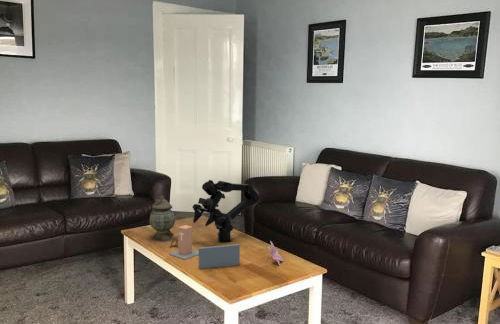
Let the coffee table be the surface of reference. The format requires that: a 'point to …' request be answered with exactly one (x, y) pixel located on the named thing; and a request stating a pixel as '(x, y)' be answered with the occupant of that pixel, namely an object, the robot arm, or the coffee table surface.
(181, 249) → the salmon pink tall block
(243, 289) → the coffee table surface
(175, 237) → the lion figurine
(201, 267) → the screen
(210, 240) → the coffee table surface
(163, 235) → the lidded urn
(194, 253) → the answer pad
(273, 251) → the lily
